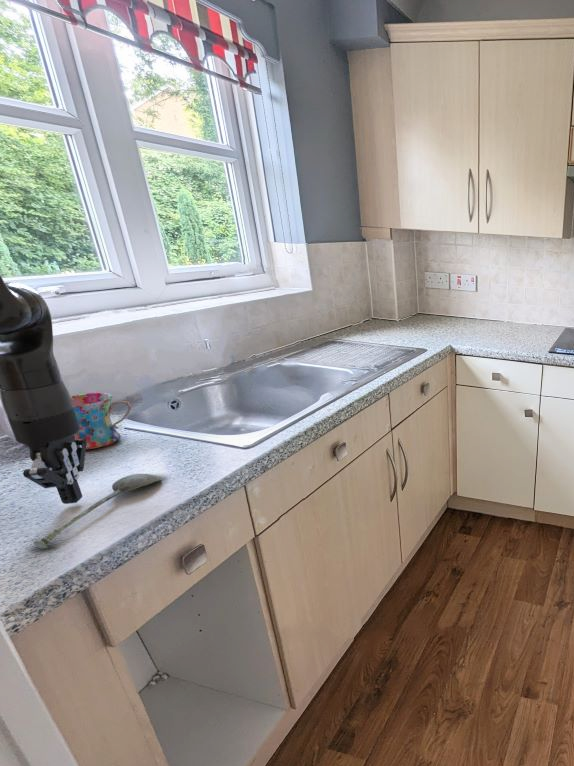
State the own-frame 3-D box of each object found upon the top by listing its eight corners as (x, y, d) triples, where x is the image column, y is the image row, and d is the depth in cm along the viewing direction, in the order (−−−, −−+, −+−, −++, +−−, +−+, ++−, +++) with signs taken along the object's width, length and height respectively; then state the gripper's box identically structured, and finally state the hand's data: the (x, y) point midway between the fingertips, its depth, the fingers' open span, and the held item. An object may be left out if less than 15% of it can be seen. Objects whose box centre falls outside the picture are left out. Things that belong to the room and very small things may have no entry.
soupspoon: (172, 481, 90) (139, 481, 90) (167, 466, 89) (134, 466, 89) (61, 550, 69) (18, 550, 69) (53, 531, 68) (10, 531, 68)
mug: (63, 456, 96) (47, 410, 92) (72, 440, 103) (58, 396, 99) (137, 444, 102) (125, 400, 99) (141, 430, 109) (129, 388, 106)
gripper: (37, 397, 78) (68, 485, 84) (-21, 427, 67) (19, 526, 73) (91, 395, 81) (117, 480, 87) (44, 423, 69) (78, 519, 75)
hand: (72, 501), depth 80 cm, fingers closed
